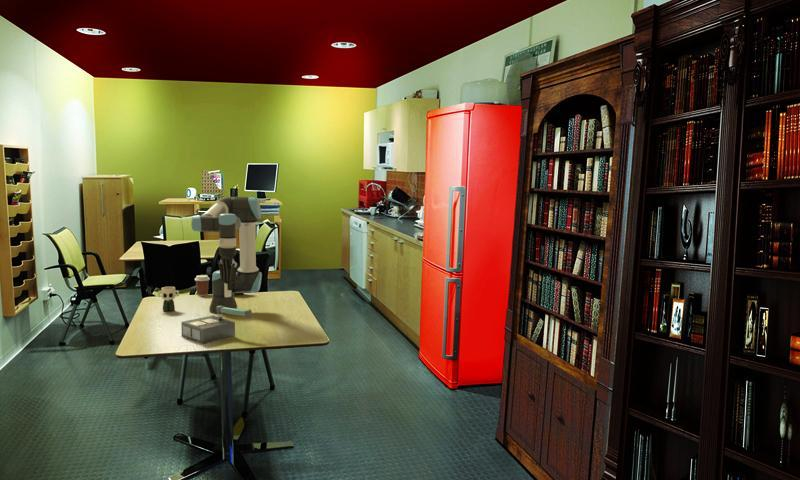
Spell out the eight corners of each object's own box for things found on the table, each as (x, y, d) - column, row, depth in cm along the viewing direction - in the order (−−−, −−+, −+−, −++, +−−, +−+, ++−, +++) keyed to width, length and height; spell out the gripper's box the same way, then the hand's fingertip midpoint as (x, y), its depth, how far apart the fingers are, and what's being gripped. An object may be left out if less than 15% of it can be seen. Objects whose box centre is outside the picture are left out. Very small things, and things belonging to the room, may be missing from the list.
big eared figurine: (157, 312, 308) (157, 289, 307) (158, 309, 315) (158, 286, 314) (178, 311, 312) (178, 288, 310) (179, 308, 318) (179, 286, 317)
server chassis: (181, 336, 266) (180, 315, 264) (213, 329, 279) (213, 308, 278) (202, 344, 254) (202, 322, 253) (234, 336, 268) (234, 315, 267)
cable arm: (215, 312, 270) (215, 306, 270) (219, 311, 273) (219, 305, 272) (247, 317, 262) (247, 311, 262) (251, 316, 265) (251, 309, 265)
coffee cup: (191, 295, 354) (191, 276, 352) (201, 292, 362) (201, 274, 361) (203, 296, 350) (203, 277, 349) (213, 294, 359) (212, 275, 358)
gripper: (212, 246, 262) (212, 295, 265) (229, 249, 254) (229, 300, 257) (226, 244, 268) (226, 293, 271) (243, 247, 260) (243, 297, 263)
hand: (228, 296), depth 264 cm, fingers closed
